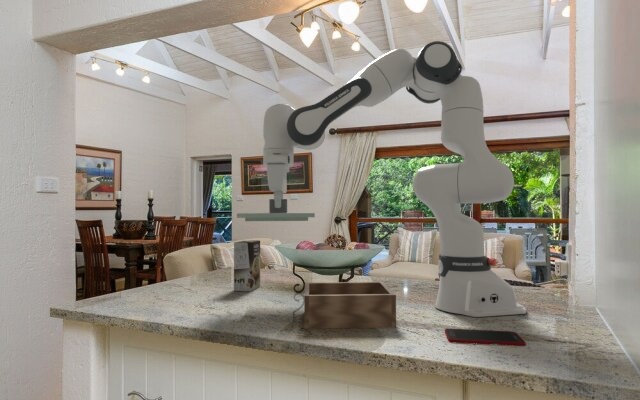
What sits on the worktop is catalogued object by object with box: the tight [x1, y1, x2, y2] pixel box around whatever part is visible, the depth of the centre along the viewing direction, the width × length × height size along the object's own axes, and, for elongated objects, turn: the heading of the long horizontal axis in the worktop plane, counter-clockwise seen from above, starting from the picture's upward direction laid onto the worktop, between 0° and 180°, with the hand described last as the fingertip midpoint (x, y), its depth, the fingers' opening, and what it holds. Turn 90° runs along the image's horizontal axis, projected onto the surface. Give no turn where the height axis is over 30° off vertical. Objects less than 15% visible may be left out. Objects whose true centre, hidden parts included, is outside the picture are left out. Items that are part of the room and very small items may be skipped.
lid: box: [236, 198, 316, 222], centre depth 120 cm, size 21×17×6 cm
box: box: [303, 281, 397, 329], centre depth 98 cm, size 20×16×8 cm
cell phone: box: [444, 328, 527, 347], centre depth 85 cm, size 8×15×1 cm, turn 80°
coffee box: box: [233, 239, 261, 292], centre depth 139 cm, size 9×6×16 cm
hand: (278, 207), depth 120 cm, fingers closed on lid, 2 cm apart
